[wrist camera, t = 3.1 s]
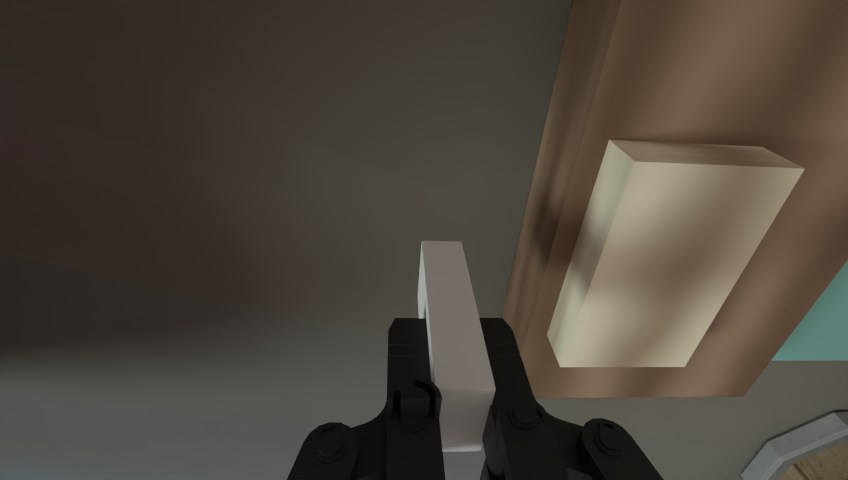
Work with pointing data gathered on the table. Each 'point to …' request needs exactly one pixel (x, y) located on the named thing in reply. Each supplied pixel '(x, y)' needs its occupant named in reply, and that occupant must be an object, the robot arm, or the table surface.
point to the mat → (822, 327)
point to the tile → (663, 249)
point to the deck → (697, 124)
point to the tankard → (805, 452)
